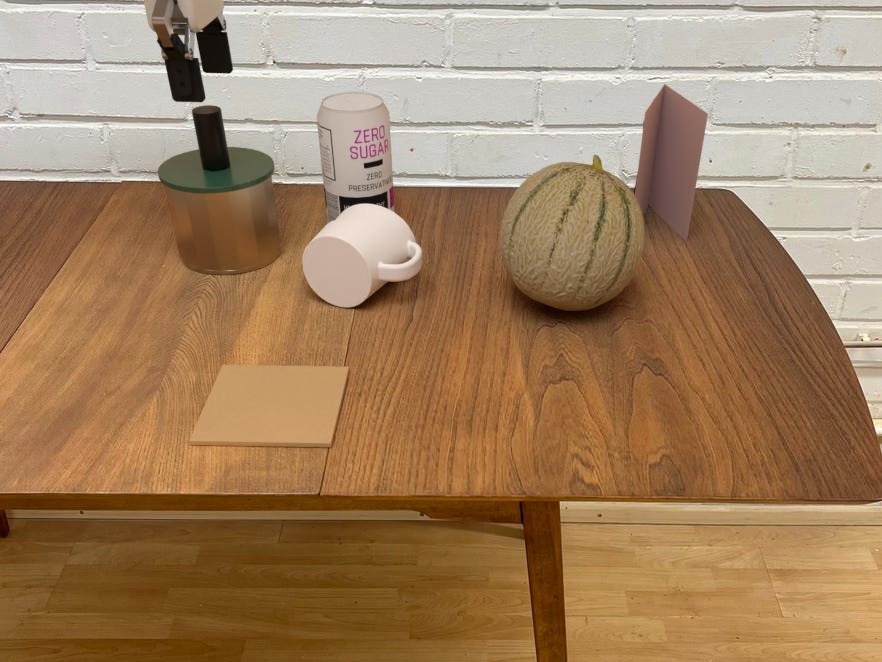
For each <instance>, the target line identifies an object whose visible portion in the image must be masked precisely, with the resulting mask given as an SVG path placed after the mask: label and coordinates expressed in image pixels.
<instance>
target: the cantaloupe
mask: <svg viewBox="0 0 882 662" xmlns="http://www.w3.org/2000/svg"><path fill="white" fill-rule="evenodd" d="M602 163H603V162H602V160H601V158H600V156H599V155H598V154H593V157H592V164H589V163H581V162H574V161H561V162H556V163H553V164H549V165H547V166H545V167H542V168H541V169H540V170H537V171H536V172H534V173H532V174H531V175H529V176H528V177H527V178H526V179H525V180H524V181H523V182H522V183H521V184H520V185H519V187H518V188H517V189H516V190H515V192H514V193H513V195H512V196H511V198H510V199H509V201H508V204H507V206H506V207H505V210H504V213H503V216H502V219H501V224H500V229H499V246H500V247H499V248H500V250H499V251H500V256H501V260H502V262H503V266H504V268H505V270H506V271H507V273H508V276H509V277H510V278H511V280H512V281H513V283H514V285H515V287H517V288H518V289H519V291H521V293H522V294H524V295H526V296H527V297H528V298H529V299H532V300H533V301H536V302H538V303H540V304H543V305H545V306H549V307H552V308H554V309H558V310H562V311H569V312H570V311H572V312H573V311H574V312H575V311H576V312H578V311H579V312H580V311H586V310H592V309H594V308H596V307H598V306H601V305H604V304H606V303H607V302H609V301H611V300H613V299H614V298H615V297H617V296H619V294H621V292H622V291H623V290H624V289H625V288H626V287H627V286H628V285H629V284H630V282H631V280H632V279H633V278H634V276H635V275H636V272H637V270H638V268H639V266H640V263H641V260H642V257H643V253H644V247H645V238H646V232H645V231H646V228H645V218H644V215H643V213H642V210H641V207H640V204H639V202H638V200H637V198H636V197H635V195H634V191H633V190H632V189H631V188H630V187H629V186H628V185H627V183H626V182H624V181H623V180H622V179H621V178H620V177H618V176H617V175H615V174H612V173H611V172H609V171H607V170H604V167H603V164H602Z"/></svg>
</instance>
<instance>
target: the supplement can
mask: <svg viewBox="0 0 882 662" xmlns="http://www.w3.org/2000/svg"><path fill="white" fill-rule="evenodd" d="M390 119H391V117H390V111H389V109H388V107H387V106H386V104H385V102H384V98H383V97H381V95H379V94H376V93H373V92H372V93H371V92H367V91H342V92H337V93H332V94H329V95H326V96H325V97H323V98H322V99H321V100H320V106H319V109H318V111H317V114H316V125H317V134H318V135H317V136H318V143H319V144H318V145H319V154H320V155H319V156H320V163H321V174H322V182H323V183H322V184H323V193H324V203H325V213H326V221H327V224H328V223H329V222H331V221H334V220H335V219H336V218H337V217H338V216H339V215H340V214H341V213H342V212H343V211H344V210H345V209H347V208H348V207H351V206H353V205H357V204H375V205H379V206H382V207H385V208H387V209H389V210H391V211H393V212H394V213H396V212H395V198H394V197H395V196H394V195H395V194H394V176H393V175H394V174H393V158H392V156H393V155H392V139H391V120H390Z"/></svg>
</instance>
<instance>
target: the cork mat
mask: <svg viewBox="0 0 882 662" xmlns="http://www.w3.org/2000/svg"><path fill="white" fill-rule="evenodd" d="M349 375H350V366H339V365H338V366H337V365H336V366H335V365H333V366H332V365H331V366H329V365H327V366H326V365H280V364H279V365H275V364H274V365H273V364H272V365H270V364H222V365H221V367H220V369H219V372H218V374H217V377H216V379H215V381H214V383H213V385H212V388H211V390H210V392H209V394H208V397H207V398H206V401H205V403H204V405H203V408H202V410H201V413H200V415H199V417H198V419H197V422H196V424H195V426H194V428H193V430H192V432H191V435H190V437H189V439H188V442H189V443H188V444H189V446H214V447H215V446H216V447H217V446H219V447H220V446H221V447H222V446H226V447H274V448H275V447H276V448H277V447H279V448H280V447H281V448H332V447H333V443H334V438H335V434H336V430H337V425H338V420H339V418H340V412H341V408H342V404H343V400H344V395H345V393H346V392H345V391H346V387H347V383H348V380H349V379H348V378H349Z"/></svg>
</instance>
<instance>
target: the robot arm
mask: <svg viewBox="0 0 882 662" xmlns="http://www.w3.org/2000/svg"><path fill="white" fill-rule="evenodd" d="M224 2H225V1H224V0H143V4H144V8H145V15H146V20H147V24H148V27H149V28H150V30H152V31H153V32H155V33H156V36H157V37H156V38H157V39H156V42H157V44H158V46H159V47H160V53H161V58H162V59H163V60H164V66H165V70H166V74H167V79H168V84H169V89H170V94H171V98H172V100H173V101H174V102H176V103H203V102H204V101H205V100H206V98H207V97H206V92H205V87H204V81H203V75H202V71H203V72H204V73H205V74H225V75H226V74H231V73H232V72H233V71H234V67H233V60H232V53H231V47H230V42H229V37H228V31H227V29H228V28H227V21H226V19H225V15H224V14H223V12H224V8H225V4H224ZM180 36H184V40H183V41H184V42H183V41H182V39H181V37H180ZM195 38H196V42H197V48H198V54H199V57H195ZM199 58H200V59H199ZM200 64H201V65H200ZM201 69H202V71H201Z"/></svg>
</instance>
